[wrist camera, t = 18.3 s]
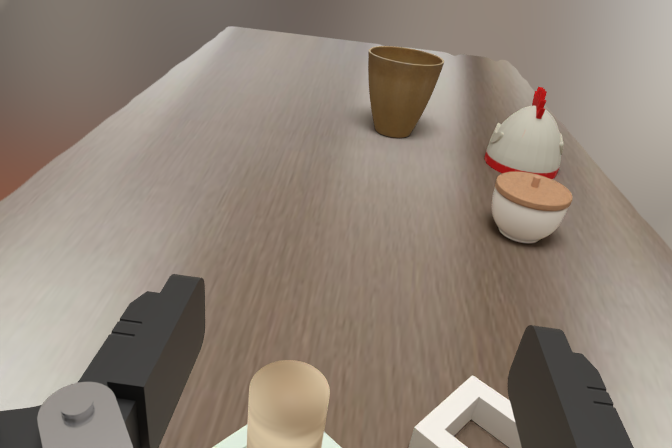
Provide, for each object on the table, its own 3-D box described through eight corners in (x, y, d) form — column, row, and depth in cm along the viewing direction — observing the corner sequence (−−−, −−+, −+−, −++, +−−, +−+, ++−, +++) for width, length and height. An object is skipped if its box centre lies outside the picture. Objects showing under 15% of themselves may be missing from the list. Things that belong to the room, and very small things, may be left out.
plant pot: (429, 149, 106) (447, 68, 98) (355, 139, 107) (367, 57, 99) (426, 124, 119) (441, 51, 111) (360, 115, 120) (370, 41, 112)
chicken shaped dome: (550, 158, 110) (574, 86, 103) (562, 186, 98) (591, 107, 91) (482, 146, 111) (501, 74, 104) (486, 173, 100) (508, 94, 92)
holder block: (500, 529, 41) (511, 506, 39) (407, 450, 46) (414, 427, 44) (552, 460, 46) (563, 437, 45) (465, 397, 52) (472, 375, 50)
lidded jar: (473, 233, 79) (489, 176, 75) (495, 208, 87) (511, 155, 83) (546, 261, 75) (568, 202, 70) (562, 231, 83) (583, 177, 78)
